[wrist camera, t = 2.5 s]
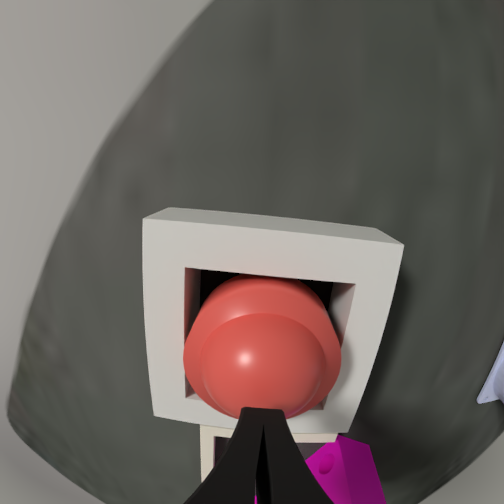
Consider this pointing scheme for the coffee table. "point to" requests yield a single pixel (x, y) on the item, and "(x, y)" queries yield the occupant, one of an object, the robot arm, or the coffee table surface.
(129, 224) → the coffee table surface
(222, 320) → the dome
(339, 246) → the dome housing
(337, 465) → the toy block
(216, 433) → the frame
